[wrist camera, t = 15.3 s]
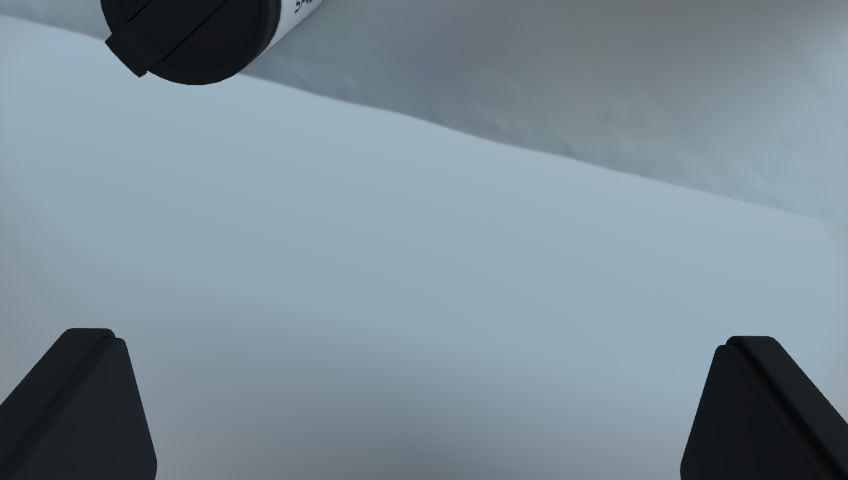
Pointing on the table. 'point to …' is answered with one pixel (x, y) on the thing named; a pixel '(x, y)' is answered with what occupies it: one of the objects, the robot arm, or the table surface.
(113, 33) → the travel mug
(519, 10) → the table surface
